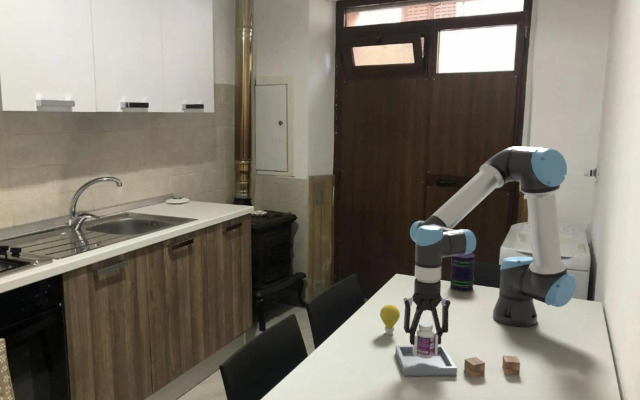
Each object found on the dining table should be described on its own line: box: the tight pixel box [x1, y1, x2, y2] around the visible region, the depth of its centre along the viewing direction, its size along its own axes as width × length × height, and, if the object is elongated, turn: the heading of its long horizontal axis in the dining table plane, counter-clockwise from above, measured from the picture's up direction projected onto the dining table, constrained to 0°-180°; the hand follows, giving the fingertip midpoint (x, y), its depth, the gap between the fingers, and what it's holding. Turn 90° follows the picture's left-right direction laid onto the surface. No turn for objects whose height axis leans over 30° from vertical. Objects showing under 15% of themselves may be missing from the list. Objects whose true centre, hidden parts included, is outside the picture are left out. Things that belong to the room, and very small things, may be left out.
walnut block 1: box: [463, 356, 486, 379], centre depth 149 cm, size 4×4×4 cm
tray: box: [395, 344, 458, 378], centre depth 155 cm, size 15×15×2 cm
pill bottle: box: [416, 321, 435, 358], centre depth 154 cm, size 5×5×10 cm
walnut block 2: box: [501, 354, 521, 376], centre depth 150 cm, size 4×4×4 cm
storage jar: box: [449, 252, 476, 292], centre depth 225 cm, size 10×10×15 cm
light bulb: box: [379, 304, 401, 335], centre depth 177 cm, size 7×7×10 cm
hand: (424, 354), depth 154 cm, fingers closed on pill bottle, 5 cm apart
